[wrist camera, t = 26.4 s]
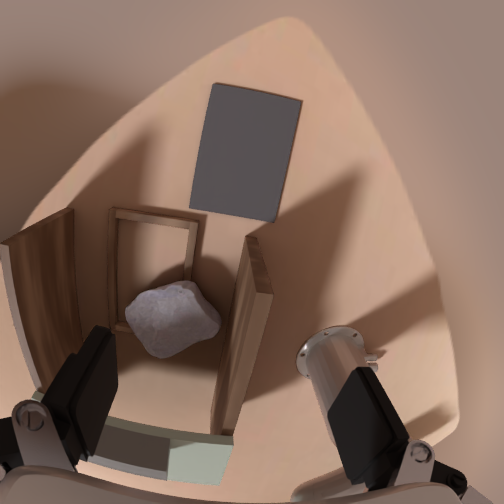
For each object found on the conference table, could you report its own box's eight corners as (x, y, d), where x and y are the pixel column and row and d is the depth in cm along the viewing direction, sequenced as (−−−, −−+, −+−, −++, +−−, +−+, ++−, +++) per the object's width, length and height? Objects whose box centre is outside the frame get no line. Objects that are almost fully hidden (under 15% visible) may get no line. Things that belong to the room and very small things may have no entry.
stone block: (126, 299, 40) (162, 352, 42) (113, 309, 36) (153, 367, 37) (190, 261, 40) (226, 321, 41) (182, 269, 35) (224, 335, 36)
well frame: (258, 230, 38) (276, 284, 24) (218, 411, 50) (219, 476, 36) (65, 200, 34) (-2, 234, 20) (85, 385, 46) (62, 442, 32)
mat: (300, 102, 32) (301, 102, 32) (273, 222, 38) (274, 222, 37) (212, 84, 31) (212, 83, 30) (189, 207, 36) (188, 208, 36)
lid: (233, 436, 31) (235, 478, 25) (219, 478, 36) (220, 510, 30) (35, 390, 27) (17, 423, 21) (61, 443, 32) (51, 471, 26)
